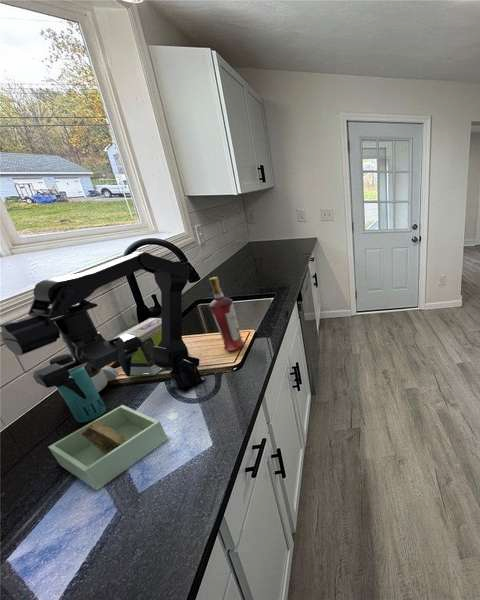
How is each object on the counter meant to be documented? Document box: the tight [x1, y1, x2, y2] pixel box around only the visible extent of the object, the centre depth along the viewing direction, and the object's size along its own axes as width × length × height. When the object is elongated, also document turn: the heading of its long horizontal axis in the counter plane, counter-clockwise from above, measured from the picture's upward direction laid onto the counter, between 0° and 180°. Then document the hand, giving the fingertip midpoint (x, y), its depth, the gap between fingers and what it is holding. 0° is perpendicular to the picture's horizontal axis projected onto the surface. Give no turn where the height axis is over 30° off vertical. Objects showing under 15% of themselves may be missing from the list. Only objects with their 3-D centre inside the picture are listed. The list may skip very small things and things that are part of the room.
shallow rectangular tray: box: [47, 404, 169, 491], centre depth 74 cm, size 15×17×6 cm
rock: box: [81, 420, 127, 455], centre depth 75 cm, size 11×9×10 cm
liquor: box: [208, 276, 245, 352], centre depth 113 cm, size 7×7×28 cm
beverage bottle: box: [48, 353, 107, 423], centre depth 83 cm, size 6×7×20 cm
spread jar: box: [56, 358, 119, 397], centre depth 97 cm, size 12×11×12 cm
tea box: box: [110, 317, 164, 377], centre depth 109 cm, size 15×10×15 cm
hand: (107, 386), depth 78 cm, fingers open, 9 cm apart
